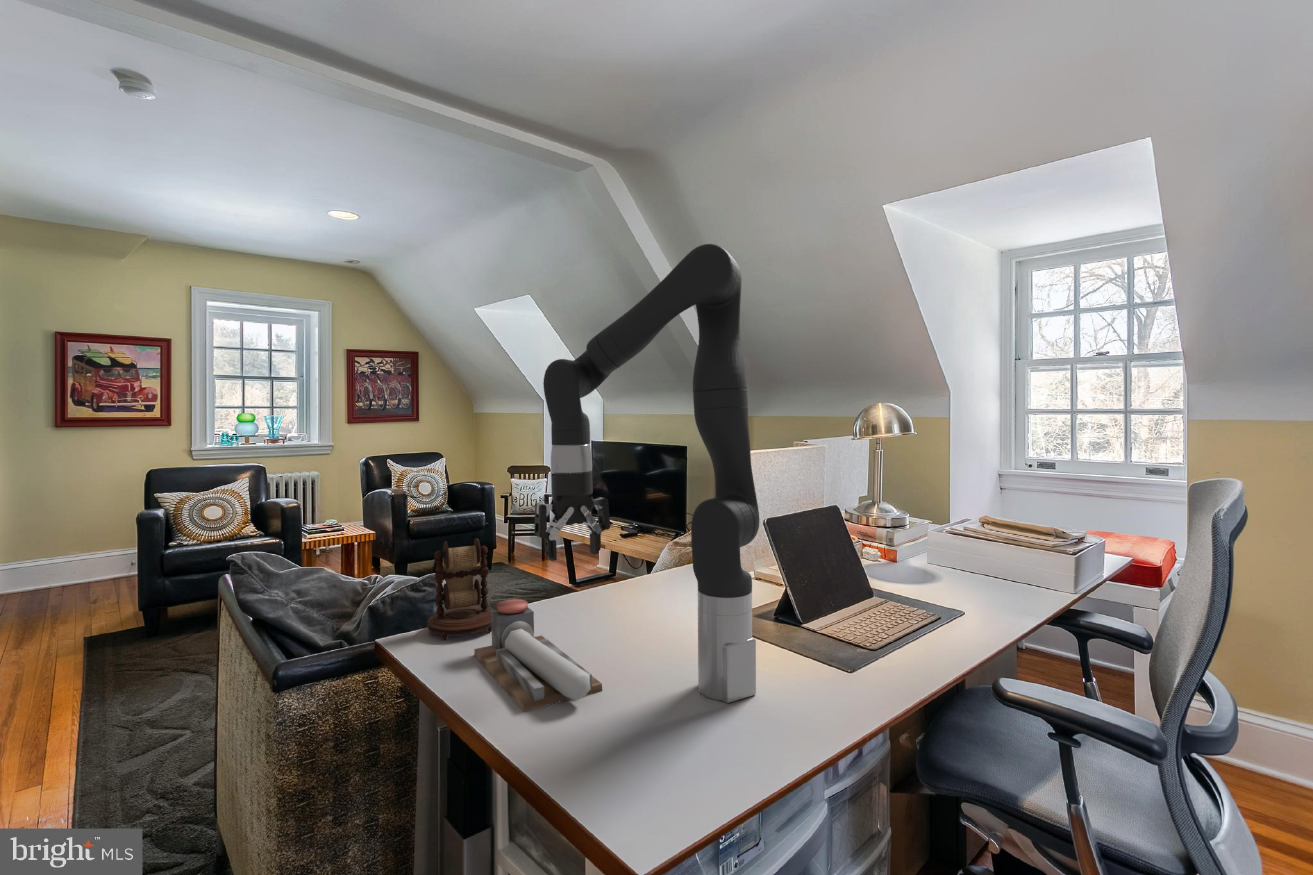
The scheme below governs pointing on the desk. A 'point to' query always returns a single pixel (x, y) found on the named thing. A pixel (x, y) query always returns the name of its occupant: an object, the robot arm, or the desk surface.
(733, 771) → the desk surface
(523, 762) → the desk surface
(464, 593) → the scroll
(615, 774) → the desk surface
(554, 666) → the tube
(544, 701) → the pipe rack
